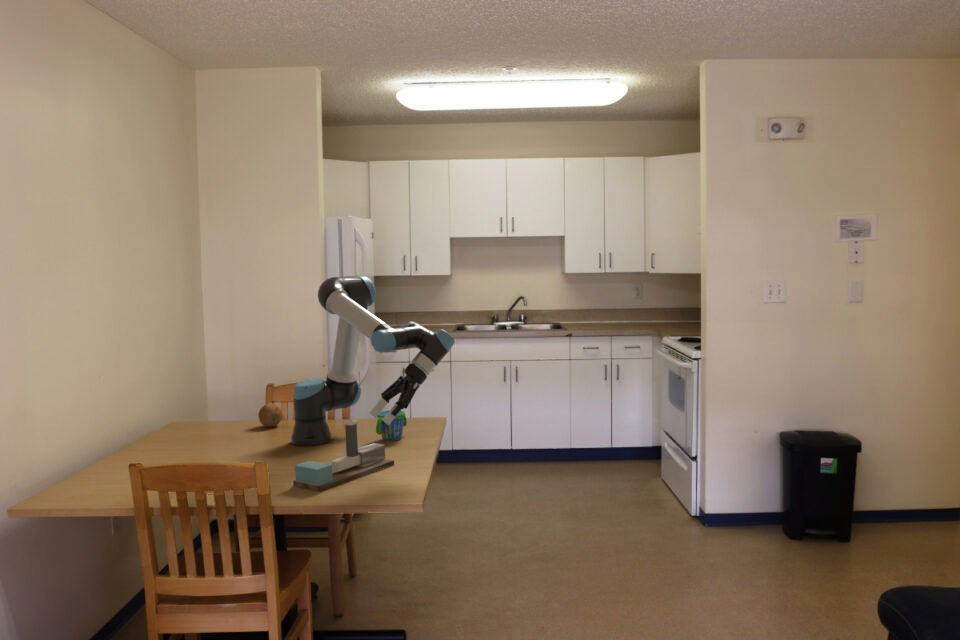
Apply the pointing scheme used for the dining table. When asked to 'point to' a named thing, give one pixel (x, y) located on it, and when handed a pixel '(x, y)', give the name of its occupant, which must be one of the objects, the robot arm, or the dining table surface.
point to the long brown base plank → (356, 467)
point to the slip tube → (349, 448)
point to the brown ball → (270, 415)
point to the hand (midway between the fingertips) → (378, 418)
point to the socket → (313, 473)
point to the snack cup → (391, 426)
